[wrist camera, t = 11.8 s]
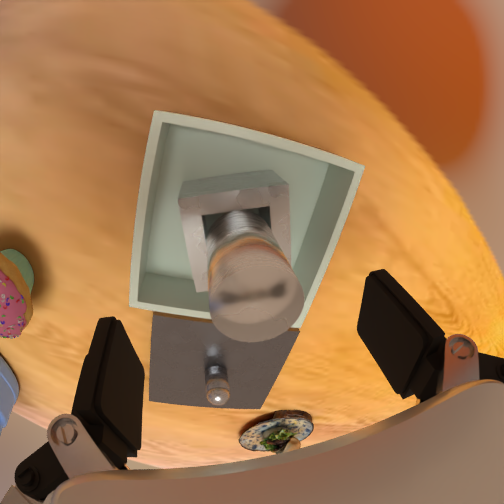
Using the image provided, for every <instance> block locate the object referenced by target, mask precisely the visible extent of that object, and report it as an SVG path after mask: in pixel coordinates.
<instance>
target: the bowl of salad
mask: <svg viewBox="0 0 504 504" xmlns="http://www.w3.org/2000/svg"><path fill="white" fill-rule="evenodd" d="M313 428H314V426H313V423H312V417H311V416H310V414H308V413H306V412H304V411H301V410H293V411H289V410H288V411H287V410H285V411H283V410H279V411H275V414H274V416H273V419H271V420H267V421H264V422H260V423H258V424H256V425H255V426H253V427H251V428H250V429H248V430H247V431H246V432H244V433H243V434H242V436H241V437H240V439H239V442H240V444H241V446H242V447H244V448H245V449H248V450H251V451H271V452H273V453H276V454H280V453H284V452H288V451H293V450H296V449H300V445H301V444H300V441H302V440H303V439H305V438H306V437H308V436H309V435H310V434H311V433H312V431H313Z"/></svg>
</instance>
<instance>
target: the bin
mask: <svg viewBox="0 0 504 504" xmlns="http://www.w3.org/2000/svg"><path fill="white" fill-rule="evenodd" d="M364 168H365V166H364V165H361V164H359V163H356V162H354V161H351V160H349V159H346V158H344V157H341V156H338V155H336V154H333V153H330V152H327V151H324V150H321V149H318V148H315V147H312V146H309V145H306V144H303V143H299V142H296V141H293V140H290V139H286V138H283V137H279V136H276V135H272V134H269V133H265V132H261V131H257V130H254V129H250V128H246V127H242V126H237V125H233V124H229V123H225V122H220V121H215V120H211V119H206V118H201V117H196V116H191V115H185V114H179V113H174V112H168V111H158V110H154V114H153V118H152V122H151V127H150V132H149V136H148V141H147V146H146V152H145V157H144V163H143V168H142V174H141V181H140V187H139V194H138V201H137V209H136V217H135V226H134V235H133V246H132V258H131V272H130V292H129V307H134V308H140V309H146V310H152V311H158V312H164V313H170V314H177V315H184V316H191V317H198V318H205V319H211V316H210V310H209V293H208V291H204V292H196V288H195V284H194V279H193V275H192V270H191V266H190V261H189V256H188V251H187V247H186V242H185V237H184V232H183V226H182V221H181V216H180V210H179V205H178V196H179V192H180V189H181V186H182V182H183V181H187V180H193V179H200V178H206V177H213V176H220V175H228V174H236V173H244V172H252V171H261V170H271V169H272V170H273V171H274V172H275V173H276V174H278V175H279V176H280V177H281V178H282V179H283V180H284V181H286V182H287V183H288V184H289V203H290V230H291V267H292V269H293V271H294V273H295V275H296V277H297V279H298V280H299V282H300V284H301V286H302V289H303V292H304V306H303V310H302V312H301V314H300V316H299V318H298V319H297V321H296V322H295V323H294V324H293V325H292V326H291V327H293V328H301V326H302V323H303V321H304V319H305V317H306V315H307V313H308V310H309V308H310V306H311V304H312V302H313V299H314V297H315V295H316V292H317V290H318V288H319V286H320V283H321V281H322V279H323V276H324V274H325V271H326V269H327V267H328V264H329V262H330V259H331V257H332V255H333V252H334V250H335V247H336V245H337V242H338V240H339V237H340V234H341V232H342V229H343V227H344V224H345V221H346V219H347V216H348V213H349V211H350V208H351V205H352V203H353V200H354V197H355V194H356V191H357V189H358V186H359V183H360V180H361V177H362V174H363V171H364ZM243 210H245V211H250V212H253V213H255V214H257V215H259V210H258V208H251V209H243ZM229 212H231V211H229ZM226 213H228V212H222V213H215V214H208V215H205V219H206V225H207V232H208V231H209V229H210V227H211V225H212V224H213V223H214V222H215V220H217V219H218V218H219V217H220V216H222V215H224V214H226Z"/></svg>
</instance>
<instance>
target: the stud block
mask: <svg viewBox="0 0 504 504" xmlns="http://www.w3.org/2000/svg"><path fill="white" fill-rule="evenodd" d="M299 332H300V331H299V328H293V327H290V328H289V329H288V330H287V331H285V332H284V333H282V334H280V335H279V336H277V337H274V338H272V339H269V340H265V341H260V342H242V341H237V340H234V339H231V338H229V337H227V336H225V335H224V334H222V333H221V332H220V331H219V330H218V329H217V328H216V327H215V325H214V324H213V322H212V320H211V319H205V318H198V317H191V316H184V315H177V314H170V313H164V312H158V311H154V313H153V322H152V336H151V354H150V378H149V401H154V402H161V403H169V404H178V405H187V406H199V407H213V408H234V409H260V408H261V407H262V405H263V403H264V401H265V399H266V397H267V396H268V394H269V392H270V390H271V388H272V386H273V384H274V382H275V381H276V379H277V377H278V375H279V373H280V371H281V369H282V367H283V365H284V363H285V361H286V359H287V357H288V355H289V353H290V351H291V349H292V347H293V345H294V343H295V341H296V339H297V337H298V334H299Z"/></svg>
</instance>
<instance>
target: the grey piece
mask: <svg viewBox="0 0 504 504" xmlns="http://www.w3.org/2000/svg"><path fill="white" fill-rule="evenodd" d="M178 205H179V210H180V216H181V221H182V226H183V232H184V237H185V242H186V247H187V251H188V256H189V261H190V266H191V270H192V275H193V279H194V284H195V288H196V292H204V291H208V293H209V310H210V316H211V320H212V322H213V324H214V325H215V327H216V328H217V329H218V330H219V331H220V332H221V333H222V334H224V335H225V336H227V337H229V338H231V339H234V340H237V341H242V342H260V341H265V340H269V339H272V338H274V337H277V336H279V335H280V334H282V333H284V332H285V331H287V330H288V329H289V328H290V327H291V326H292V325H293V324H294V323H295V322H296V321H297V319H298V318H299V316H300V314H301V312H302V310H303V306H304V292H303V289H302V286H301V284H300V282H299V280H298V279H297V277H296V275H295V273H294V271H293V269H292V267H291V230H290V203H289V184H288V183H287V182H286V181H284V180H283V179H282V178H281V177H280V176H279V175H278V174H276V173H275V172H274V171H273V170H272V169H271V170H261V171H252V172H244V173H236V174H228V175H220V176H213V177H206V178H200V179H193V180H187V181H183V182H182V186H181V189H180V192H179V196H178ZM251 208H258V210H259V215H257V214H255V213H253V212H250V211H245V210H243V209H251ZM229 211H231V212H229ZM222 212H228V213H226V214H224V215H222V216H220V217H219V218H218V219H217V220H215V222H214V223H213V224H212V225H211V227H210V229H209V231H208V232H207V225H206V219H205V215H208V214H215V213H222Z"/></svg>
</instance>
